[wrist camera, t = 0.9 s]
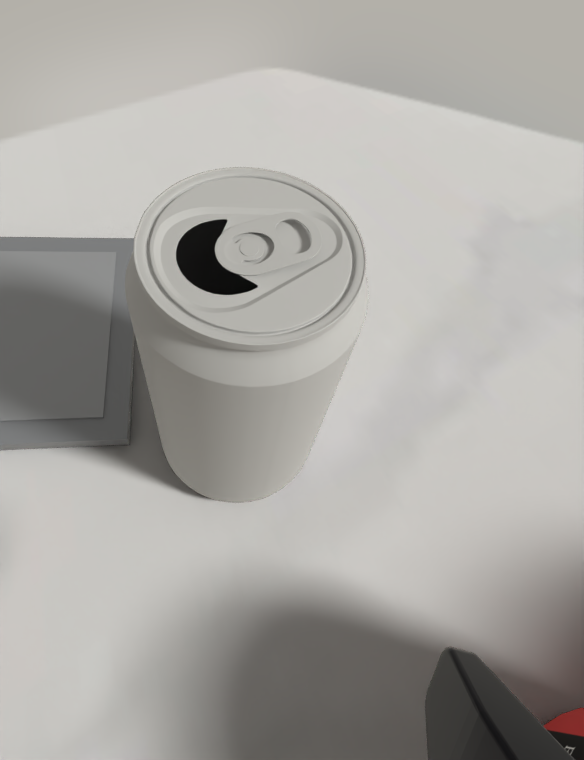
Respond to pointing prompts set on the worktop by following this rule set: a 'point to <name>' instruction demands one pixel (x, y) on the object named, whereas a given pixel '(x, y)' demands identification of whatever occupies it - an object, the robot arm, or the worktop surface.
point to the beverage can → (244, 323)
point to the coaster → (65, 342)
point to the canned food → (569, 732)
